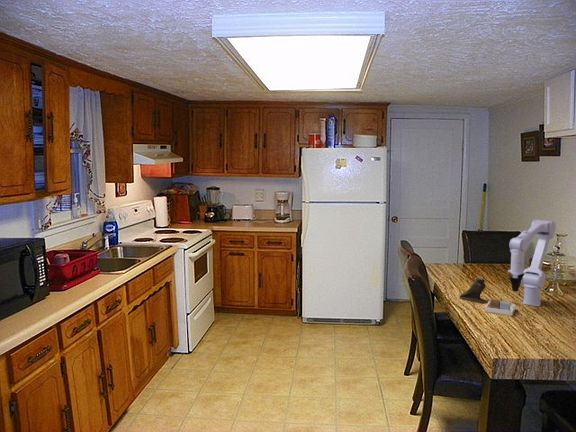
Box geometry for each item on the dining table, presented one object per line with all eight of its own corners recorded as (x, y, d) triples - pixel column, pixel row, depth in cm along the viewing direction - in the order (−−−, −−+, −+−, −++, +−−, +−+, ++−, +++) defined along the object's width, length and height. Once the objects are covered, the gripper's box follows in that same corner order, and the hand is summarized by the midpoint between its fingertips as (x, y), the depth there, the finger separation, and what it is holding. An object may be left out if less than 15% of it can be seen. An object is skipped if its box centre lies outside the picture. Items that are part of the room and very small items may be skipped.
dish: (489, 305, 226) (489, 300, 226) (515, 309, 220) (515, 304, 219) (484, 312, 216) (485, 307, 216) (512, 316, 210) (512, 311, 210)
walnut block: (491, 307, 222) (491, 299, 222) (499, 308, 220) (500, 300, 219) (489, 309, 219) (490, 301, 218) (498, 310, 217) (499, 302, 216)
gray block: (510, 310, 217) (510, 302, 217) (509, 312, 214) (509, 304, 214) (501, 308, 220) (501, 300, 219) (500, 310, 216) (500, 303, 216)
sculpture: (482, 304, 229) (483, 279, 228) (458, 298, 239) (459, 275, 237) (487, 302, 233) (488, 277, 231) (463, 296, 243) (464, 273, 241)
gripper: (510, 258, 225) (509, 284, 227) (506, 264, 213) (505, 291, 215) (525, 260, 221) (524, 286, 223) (522, 265, 209) (521, 293, 211)
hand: (516, 289), depth 219 cm, fingers open, 7 cm apart
